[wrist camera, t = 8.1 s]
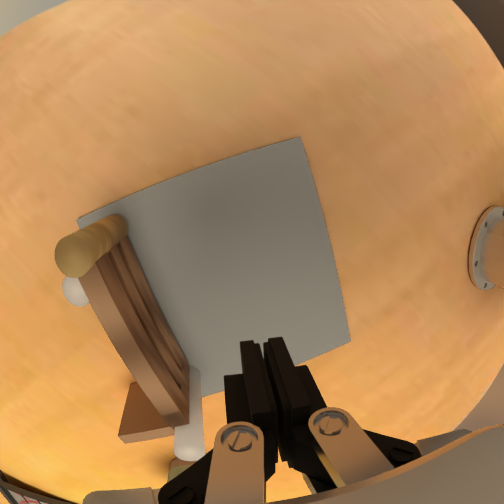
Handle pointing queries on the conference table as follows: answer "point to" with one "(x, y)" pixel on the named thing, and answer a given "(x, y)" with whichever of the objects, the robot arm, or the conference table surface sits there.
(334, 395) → the conference table surface
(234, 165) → the grey board
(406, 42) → the conference table surface
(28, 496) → the shutter
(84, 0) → the conference table surface
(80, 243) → the gate
